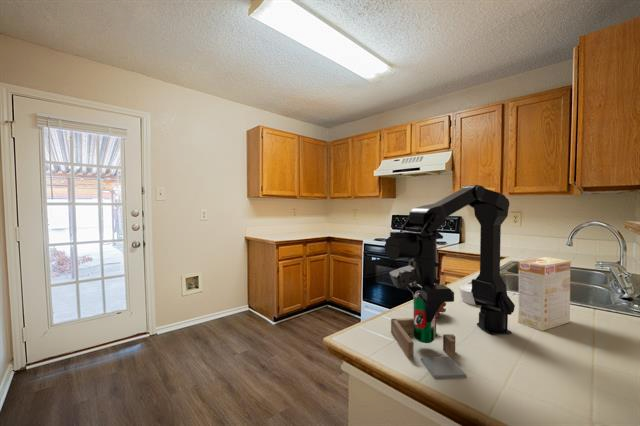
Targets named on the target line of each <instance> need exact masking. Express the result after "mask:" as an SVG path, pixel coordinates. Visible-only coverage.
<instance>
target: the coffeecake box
mask: <svg viewBox="0 0 640 426" xmlns="http://www.w3.org/2000/svg"><path fill="white" fill-rule="evenodd" d="M570 310H571V260H568V259H561V258H556V257H549V256H543V257H538V258H531V259H525V260H518V314H517V315H518V317H517V318H518V321H517V323H519V324H521V325H525V326H528V327H530V328H533V329H536V330H538V331H541V332H544V331H546V330H549V329H552V328H556V327H559V326H562V325H565V324H568V323H571V319H570V316H571V315H570V314H571V311H570Z"/></svg>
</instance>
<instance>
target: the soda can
mask: <svg viewBox="0 0 640 426" xmlns="http://www.w3.org/2000/svg"><path fill="white" fill-rule="evenodd" d="M418 295H421V290H419V291H416V292H415V295H414V298H413V318H414V327H413V334H412V335H413V338H414V339H415V340H416V341H417V342H419V343H422V344H432V343H433V342H434V341H435V340H436V339H435V337H436V333H435V319H436V318H435V316H434V318H433V320H432V321H431V322H426V318H425V310H424V303H423V301H422V300H421V299H420V298H419V297H418Z"/></svg>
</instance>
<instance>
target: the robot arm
mask: <svg viewBox="0 0 640 426" xmlns="http://www.w3.org/2000/svg"><path fill="white" fill-rule="evenodd" d="M467 206H469V207H470V208H473V210H474V211H473V212H474V217H475V218H476V220H477V222H478V223H479V225H480V236H479V237H480V240H479V241H480V245H479V248H480V249H479V274H478V275H477V277H475V278H473V279H471V284H472V290H471V292H472V294H473V298H474V301H475V305H474V306H476V305H477V306H478V307H479V308H480V310H479V311H478V322H477V323H476V325H477V326H478V327H479V328H480V329H482V330H483V331H485V332H486V333H488V334H489V335H512V334H513V333H512V330H509V328H508V325H509V324H508V319H509V318H508V315H510V316H511V315H512V313H514V312H515V307H516V306H515V304H514V301H512V300H511V298H510V296H508V291H507V284H506V283H505V281H504V280H503V278H502V277H501V236H502V235H501V233H502V232H501V231H502V230H501V229H502V228H501V227H502V224H503V223H504V222H505V220H506V219H507V217H508V216H509V208H510V201H509V199H508V198H507V197H506V195H504V194H502V193H501V192H497V191H494V190H492V189H489V188H488V189H487V188H485V187H484V186H483V185H480V184H473V185H471V184H470V185H464V186H462V187H461V188H460V189H458V190H456V191H455V192H453V193H451V194H449V195H448V196H445V197H443V198H441V200H437V202H436V201H435V202H434V203H431V204H424V205H420V206H417V207H414V208H412V209H410V211H409V214H408V217H407V219H406V221H405V222H404V223H403V225H402V227H401V229H400V230H399V231H390V232H389V237H387V239H386V241H385V244H384V253H385V256H387V258H388V259H389V260H390V261H400V260H408V265H406V266H405V265H404V266H402V267H399V268H397V269H394V270H392V271H390V272H389V276H390V279H391V281H392V284H393V285H394V286H395V287H396V288H397V289H401V288H404V287H406V288H407V289H408V290H409V291H410V292H411V294H412V296H413V299H414V295H415V292H416V291H419V290H421V295H418V297H419V298H420V299H421V300H422V301H423V303H424V310H425V318H426V322H431V321H432V320H433V318H434V316H435V314H436V313H437V311H438V309H439V308H440V306H441V305H442V303H443V302H445V303H453V302H455V292H454V291H453V290H452V289H451V288H449V287H448V286H447V285H444V284H441V283H440V278H438V277H437V268H439V267H441V262H439V261H437V251H438V250H437V249H438V247H437V243H438V242H437V240H442V239H444V236H443V235H442V234H441V233H440V232H439V231H438V230H439V229H440V228H441V227H442V226H443V225H445V224H446V221H447V220H448V217H450V216H451V215H452V214H453V215H454V214H455V213H456V212H458V211H460V210H461V209H463V208H465V207H467Z"/></svg>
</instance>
